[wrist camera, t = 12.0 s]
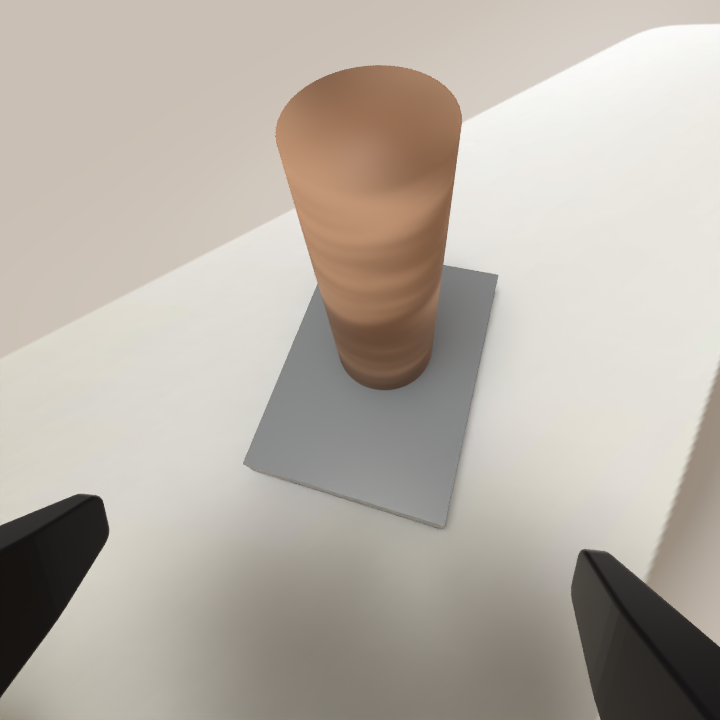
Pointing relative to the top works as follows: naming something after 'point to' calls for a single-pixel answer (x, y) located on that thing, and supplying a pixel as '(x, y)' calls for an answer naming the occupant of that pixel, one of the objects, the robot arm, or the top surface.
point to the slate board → (378, 412)
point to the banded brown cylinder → (375, 209)
